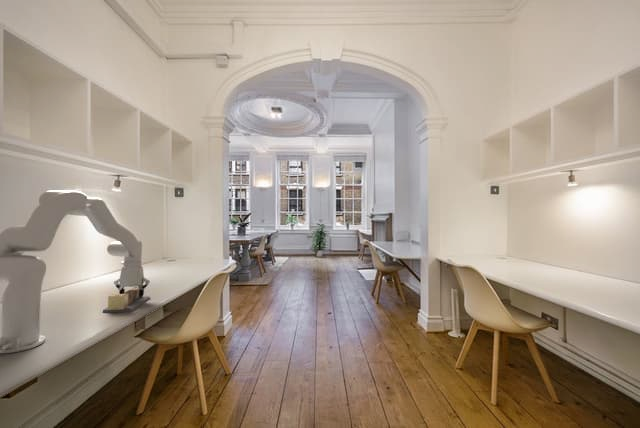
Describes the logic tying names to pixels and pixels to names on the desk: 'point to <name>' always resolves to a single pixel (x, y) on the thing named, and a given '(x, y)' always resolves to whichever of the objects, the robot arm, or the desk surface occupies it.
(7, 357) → the desk surface
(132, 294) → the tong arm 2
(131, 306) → the tong mat
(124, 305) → the tan block
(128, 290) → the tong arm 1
